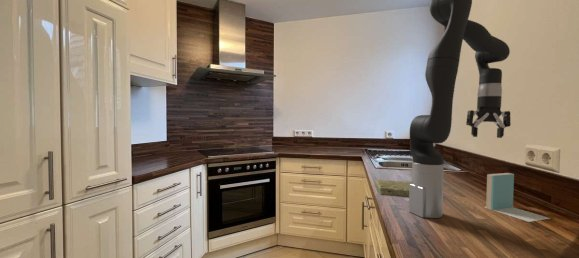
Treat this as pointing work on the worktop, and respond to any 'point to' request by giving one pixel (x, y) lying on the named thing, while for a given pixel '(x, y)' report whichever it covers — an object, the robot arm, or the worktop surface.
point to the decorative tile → (393, 187)
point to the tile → (500, 191)
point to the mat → (521, 214)
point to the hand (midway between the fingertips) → (487, 137)
